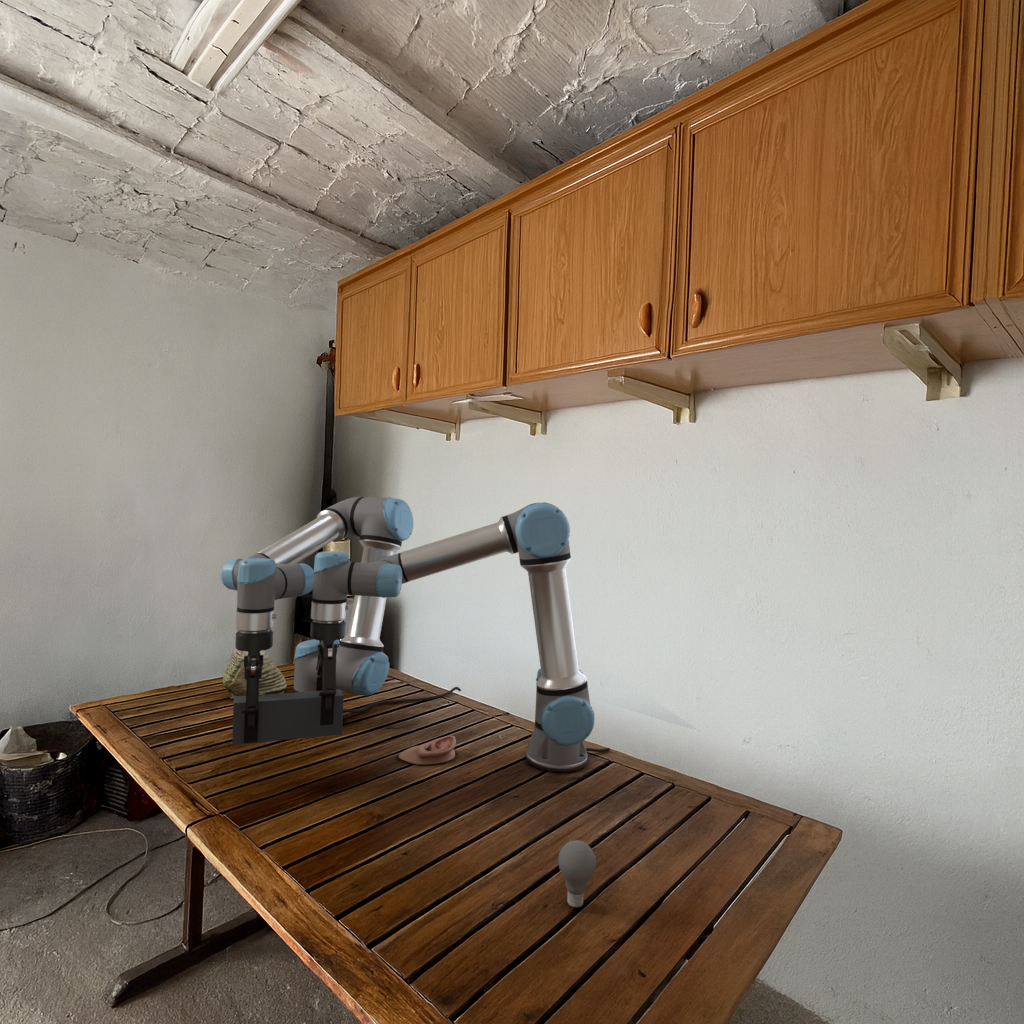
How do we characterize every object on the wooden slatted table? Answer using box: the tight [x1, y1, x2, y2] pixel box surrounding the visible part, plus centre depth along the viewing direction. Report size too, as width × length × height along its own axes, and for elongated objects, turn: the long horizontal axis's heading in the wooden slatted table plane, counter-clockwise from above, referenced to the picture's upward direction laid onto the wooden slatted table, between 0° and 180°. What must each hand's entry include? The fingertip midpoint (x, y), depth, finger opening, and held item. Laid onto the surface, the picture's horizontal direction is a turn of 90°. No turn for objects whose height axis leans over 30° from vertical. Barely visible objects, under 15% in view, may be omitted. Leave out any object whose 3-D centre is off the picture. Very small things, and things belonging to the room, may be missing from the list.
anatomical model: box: [398, 735, 457, 766], centre depth 157 cm, size 13×4×12 cm
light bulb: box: [557, 839, 597, 908], centre depth 101 cm, size 6×6×10 cm
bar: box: [231, 689, 345, 746], centre depth 140 cm, size 23×5×9 cm, turn 111°
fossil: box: [222, 648, 288, 699], centre depth 198 cm, size 9×18×15 cm, turn 132°
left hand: (250, 736), depth 138 cm, fingers closed on bar, 5 cm apart
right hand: (323, 714), depth 143 cm, fingers open, 13 cm apart
